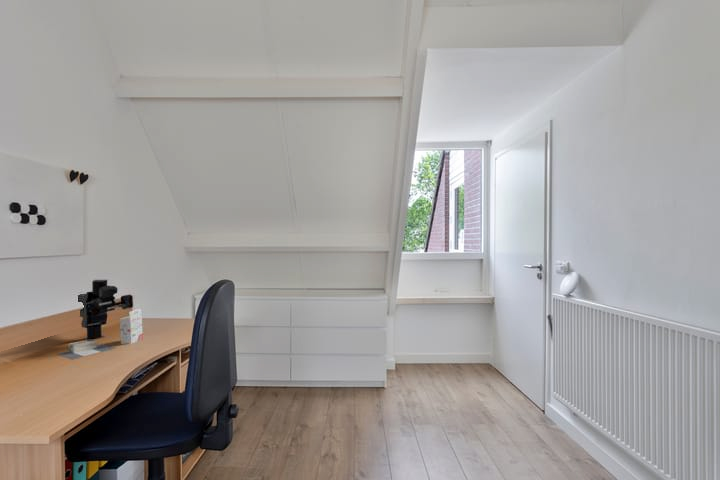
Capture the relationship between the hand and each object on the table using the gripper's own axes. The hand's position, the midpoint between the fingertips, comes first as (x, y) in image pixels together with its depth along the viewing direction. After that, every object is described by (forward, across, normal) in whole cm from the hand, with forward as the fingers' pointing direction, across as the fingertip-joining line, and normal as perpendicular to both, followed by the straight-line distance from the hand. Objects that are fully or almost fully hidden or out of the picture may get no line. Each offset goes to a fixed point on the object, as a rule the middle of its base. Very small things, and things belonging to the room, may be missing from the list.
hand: (118, 308), depth 159 cm
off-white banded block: (-5, -12, +16) cm, 21 cm away
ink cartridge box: (0, +5, +17) cm, 18 cm away
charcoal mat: (-1, -12, +16) cm, 20 cm away
